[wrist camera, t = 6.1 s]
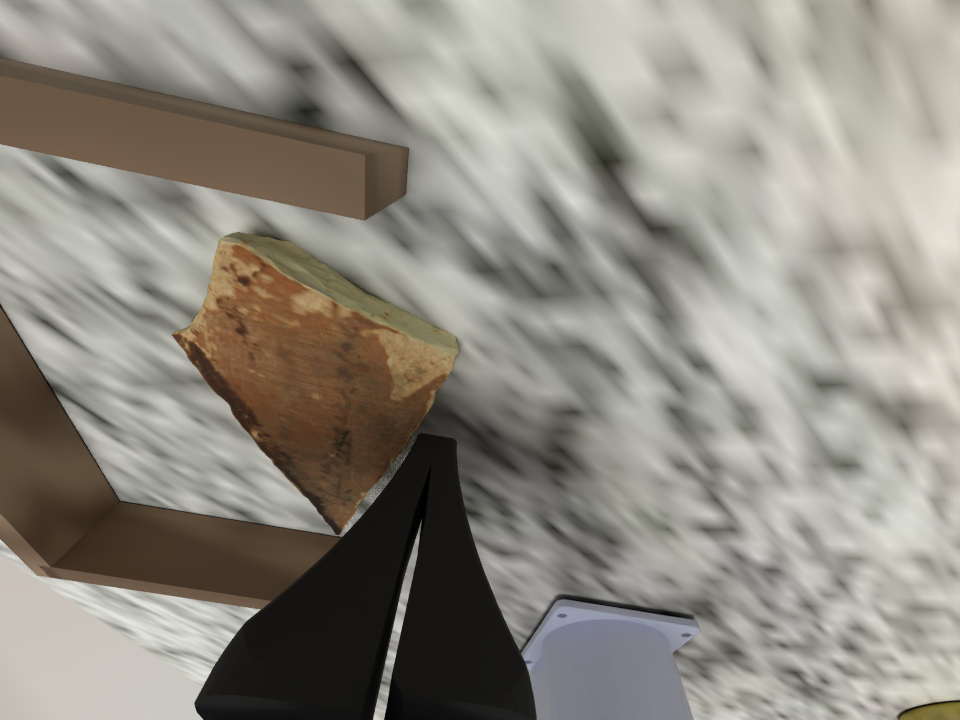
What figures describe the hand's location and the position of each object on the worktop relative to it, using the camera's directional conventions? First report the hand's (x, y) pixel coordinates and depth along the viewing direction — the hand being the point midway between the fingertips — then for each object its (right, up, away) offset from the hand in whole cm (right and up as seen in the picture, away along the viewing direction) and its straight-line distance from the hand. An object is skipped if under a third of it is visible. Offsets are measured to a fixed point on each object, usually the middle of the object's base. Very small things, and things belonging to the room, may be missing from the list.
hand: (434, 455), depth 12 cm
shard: (-2, +2, +1) cm, 3 cm away
